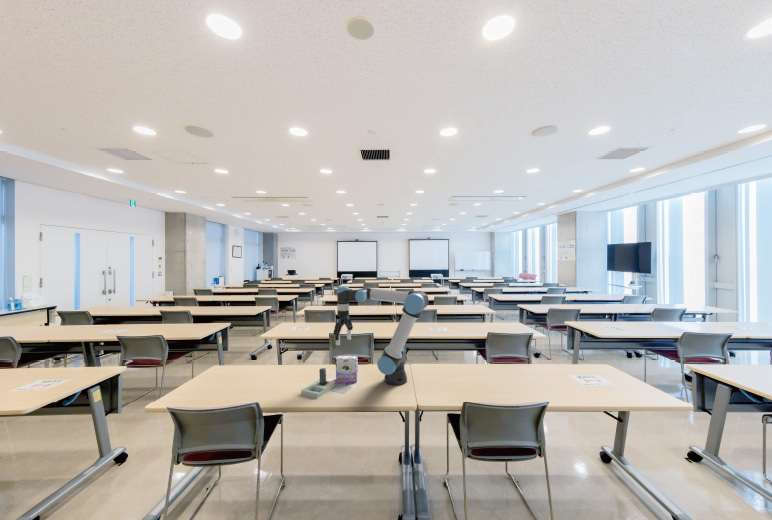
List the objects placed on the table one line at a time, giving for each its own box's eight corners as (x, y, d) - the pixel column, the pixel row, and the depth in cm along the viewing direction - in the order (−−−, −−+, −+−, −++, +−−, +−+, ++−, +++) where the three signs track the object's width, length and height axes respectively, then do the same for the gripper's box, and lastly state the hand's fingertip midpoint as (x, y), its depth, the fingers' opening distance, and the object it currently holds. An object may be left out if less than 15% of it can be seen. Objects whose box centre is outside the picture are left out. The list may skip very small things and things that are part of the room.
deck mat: (352, 387, 200) (352, 387, 200) (343, 394, 191) (343, 393, 191) (338, 385, 204) (338, 384, 204) (330, 391, 195) (330, 390, 195)
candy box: (358, 379, 212) (357, 355, 212) (356, 383, 207) (356, 358, 206) (338, 379, 214) (337, 355, 213) (335, 382, 208) (335, 358, 208)
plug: (327, 387, 201) (327, 368, 201) (323, 389, 197) (323, 370, 197) (322, 386, 203) (321, 367, 202) (318, 388, 199) (318, 369, 199)
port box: (335, 386, 202) (334, 381, 202) (317, 398, 185) (317, 393, 185) (319, 383, 207) (319, 378, 207) (301, 395, 190) (301, 389, 190)
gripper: (348, 306, 220) (348, 336, 220) (327, 313, 197) (327, 346, 198) (357, 307, 217) (358, 338, 217) (337, 313, 194) (338, 348, 195)
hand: (343, 342), depth 208 cm, fingers open, 13 cm apart
